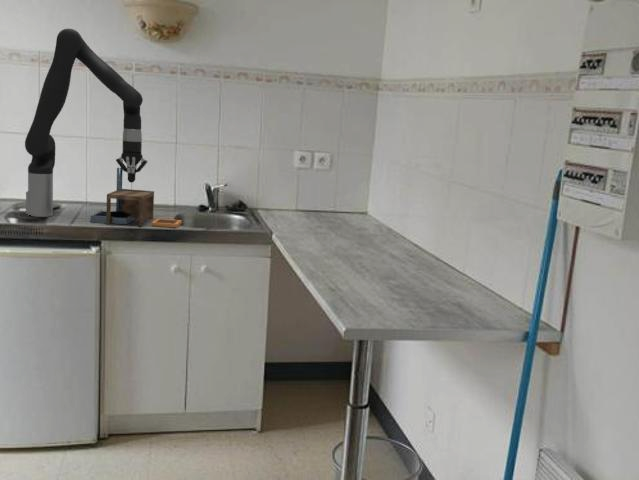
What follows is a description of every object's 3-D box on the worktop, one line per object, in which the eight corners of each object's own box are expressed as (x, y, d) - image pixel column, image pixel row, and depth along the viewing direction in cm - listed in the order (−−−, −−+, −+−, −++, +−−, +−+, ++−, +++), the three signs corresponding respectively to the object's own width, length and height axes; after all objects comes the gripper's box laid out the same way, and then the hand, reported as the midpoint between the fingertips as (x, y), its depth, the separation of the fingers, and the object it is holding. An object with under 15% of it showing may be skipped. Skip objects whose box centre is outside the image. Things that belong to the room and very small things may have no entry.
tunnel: (106, 224, 264) (106, 194, 261) (119, 216, 283) (120, 188, 281) (141, 227, 264) (142, 196, 262) (153, 219, 283) (154, 191, 281)
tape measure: (127, 219, 270) (126, 210, 270) (110, 220, 267) (109, 211, 267) (124, 220, 277) (124, 211, 276) (107, 221, 274) (107, 212, 274)
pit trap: (151, 226, 267) (151, 222, 267) (157, 221, 278) (157, 218, 278) (176, 228, 267) (176, 224, 267) (181, 223, 278) (181, 220, 278)
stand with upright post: (90, 221, 265) (91, 169, 261) (102, 215, 281) (103, 166, 277) (126, 224, 266) (127, 172, 262) (136, 218, 281) (137, 169, 278)
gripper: (113, 139, 270) (112, 182, 274) (146, 141, 271) (145, 184, 274) (118, 138, 278) (117, 180, 281) (150, 140, 278) (149, 182, 281)
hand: (131, 182), depth 277 cm, fingers closed
